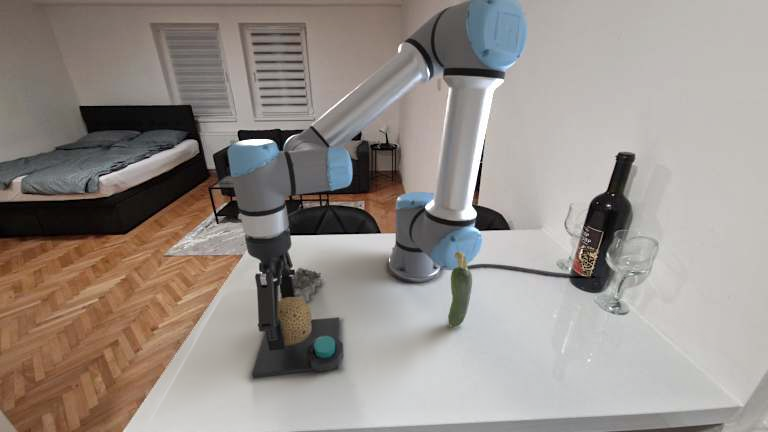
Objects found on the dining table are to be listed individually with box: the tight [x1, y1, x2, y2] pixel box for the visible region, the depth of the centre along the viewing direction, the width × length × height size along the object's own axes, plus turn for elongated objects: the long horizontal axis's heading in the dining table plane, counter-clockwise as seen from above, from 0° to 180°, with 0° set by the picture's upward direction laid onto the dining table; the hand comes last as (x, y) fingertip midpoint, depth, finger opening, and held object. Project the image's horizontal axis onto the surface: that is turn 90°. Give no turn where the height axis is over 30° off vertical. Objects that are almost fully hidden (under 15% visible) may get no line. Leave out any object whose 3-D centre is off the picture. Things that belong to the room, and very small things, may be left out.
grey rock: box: [279, 267, 322, 303], centre depth 80 cm, size 11×8×4 cm
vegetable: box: [447, 252, 473, 329], centre depth 64 cm, size 4×4×20 cm
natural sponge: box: [263, 297, 312, 345], centre depth 61 cm, size 9×9×10 cm
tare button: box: [314, 336, 335, 359], centre depth 59 cm, size 4×4×2 cm
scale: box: [251, 316, 344, 379], centre depth 63 cm, size 17×14×3 cm
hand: (283, 322), depth 62 cm, fingers open, 12 cm apart
